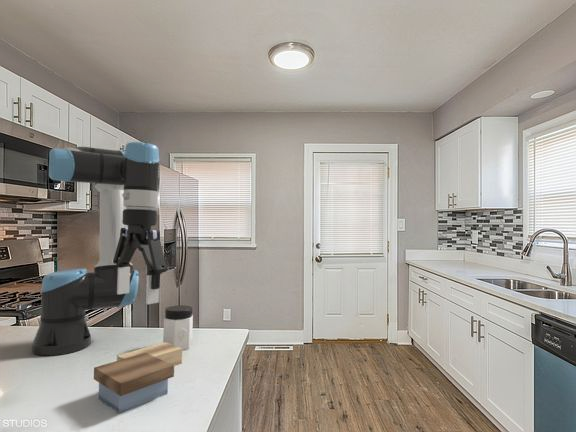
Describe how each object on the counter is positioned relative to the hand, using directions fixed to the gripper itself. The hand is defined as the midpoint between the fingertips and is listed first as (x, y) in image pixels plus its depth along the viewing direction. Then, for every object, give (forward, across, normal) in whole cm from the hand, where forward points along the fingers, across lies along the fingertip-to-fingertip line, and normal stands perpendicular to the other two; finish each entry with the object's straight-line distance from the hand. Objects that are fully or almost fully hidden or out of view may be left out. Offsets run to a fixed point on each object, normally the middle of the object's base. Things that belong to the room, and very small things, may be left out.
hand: (137, 298), depth 84 cm
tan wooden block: (+21, -6, +8) cm, 23 cm away
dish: (+20, +6, -3) cm, 21 cm away
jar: (+21, -14, +22) cm, 34 cm away
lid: (+16, +6, -3) cm, 17 cm away
